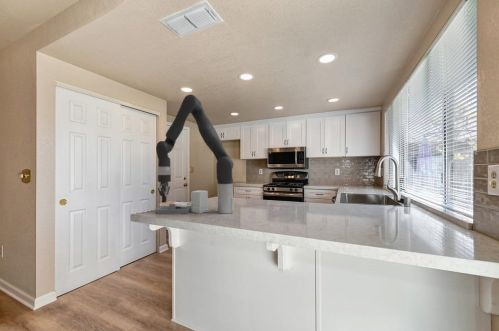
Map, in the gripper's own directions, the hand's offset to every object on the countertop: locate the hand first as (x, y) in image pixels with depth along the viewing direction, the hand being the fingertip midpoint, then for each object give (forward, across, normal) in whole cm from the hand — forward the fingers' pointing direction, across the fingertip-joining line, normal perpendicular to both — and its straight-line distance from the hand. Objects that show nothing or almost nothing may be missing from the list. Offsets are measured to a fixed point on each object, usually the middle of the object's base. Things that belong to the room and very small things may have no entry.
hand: (164, 202), depth 133 cm
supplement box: (+6, 0, -22) cm, 23 cm away
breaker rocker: (+1, 0, -7) cm, 7 cm away
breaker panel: (+6, 0, -7) cm, 9 cm away
